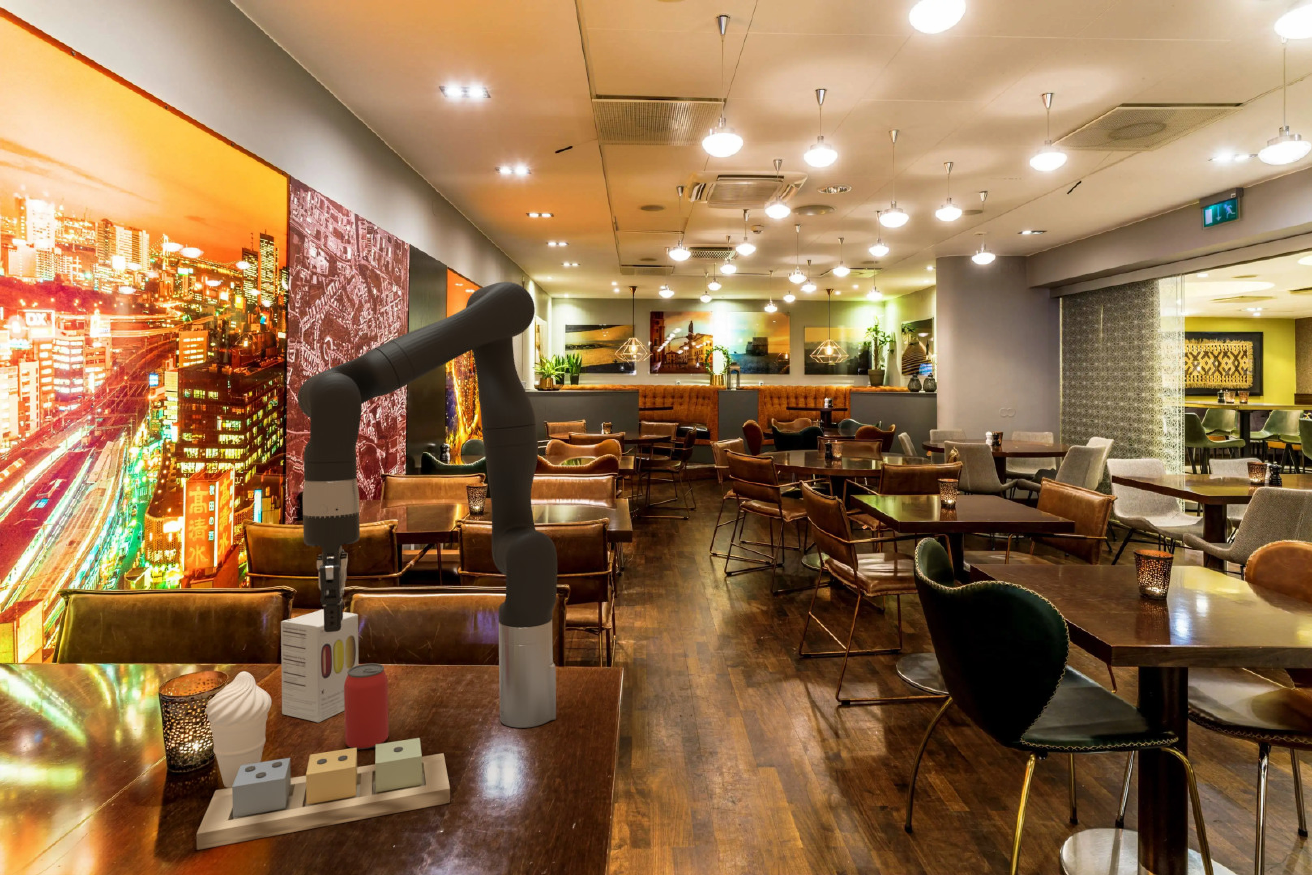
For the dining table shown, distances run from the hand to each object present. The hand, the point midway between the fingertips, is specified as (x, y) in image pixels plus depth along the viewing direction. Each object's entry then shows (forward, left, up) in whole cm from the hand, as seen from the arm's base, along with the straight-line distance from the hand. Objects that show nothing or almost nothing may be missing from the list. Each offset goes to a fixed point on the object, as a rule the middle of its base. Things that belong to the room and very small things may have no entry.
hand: (333, 625), depth 107 cm
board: (0, +9, -22) cm, 24 cm away
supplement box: (+4, -27, -23) cm, 35 cm away
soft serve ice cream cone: (+13, -3, -23) cm, 26 cm away
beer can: (-4, -10, -23) cm, 25 cm away
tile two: (0, +8, -20) cm, 22 cm away
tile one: (-8, +9, -20) cm, 24 cm away
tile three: (+9, +9, -20) cm, 24 cm away
